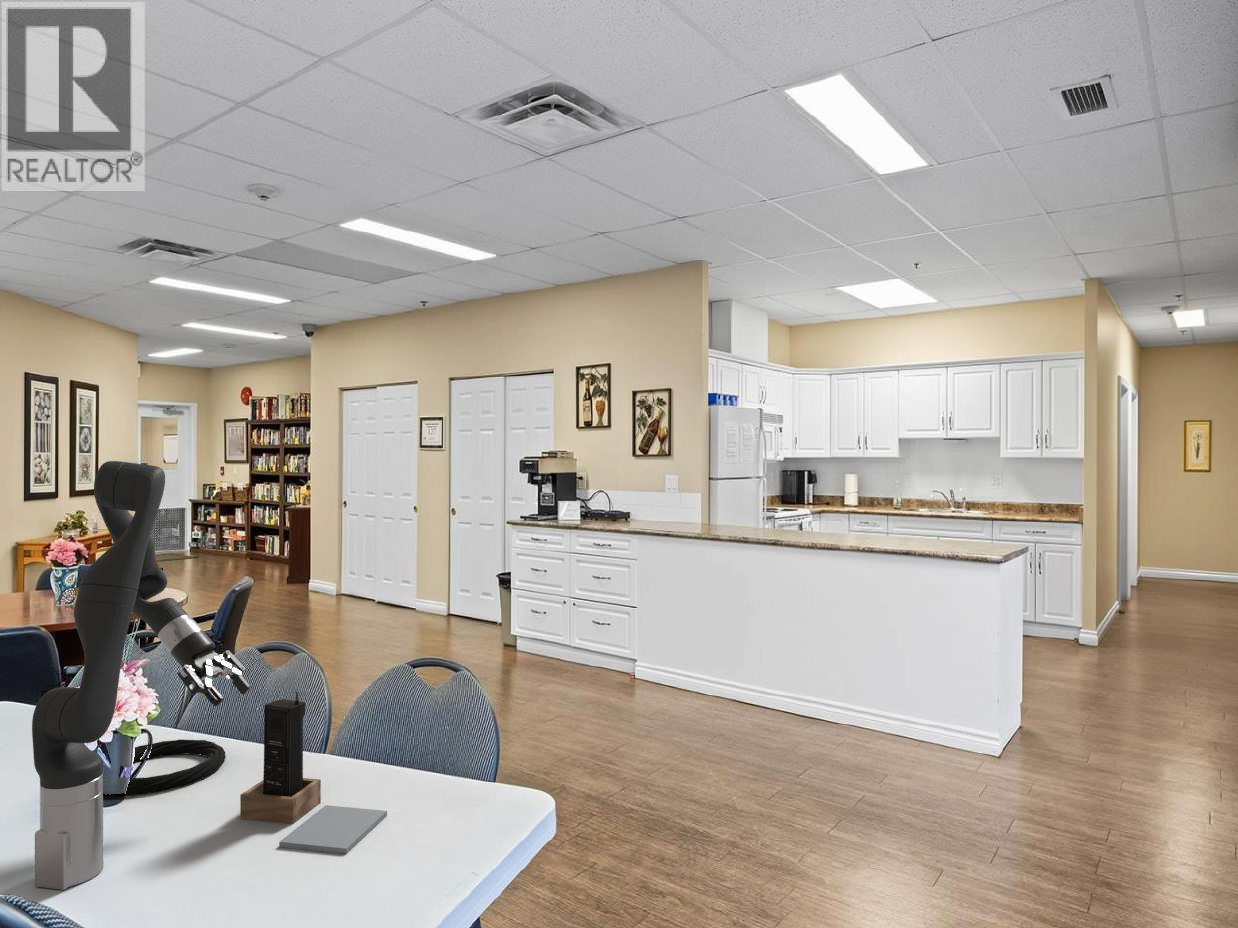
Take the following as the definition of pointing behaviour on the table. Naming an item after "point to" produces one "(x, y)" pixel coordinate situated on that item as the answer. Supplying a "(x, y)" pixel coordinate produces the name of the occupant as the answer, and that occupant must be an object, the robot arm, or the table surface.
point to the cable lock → (180, 777)
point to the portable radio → (283, 747)
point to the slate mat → (334, 829)
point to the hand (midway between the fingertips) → (233, 697)
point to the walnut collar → (280, 803)
